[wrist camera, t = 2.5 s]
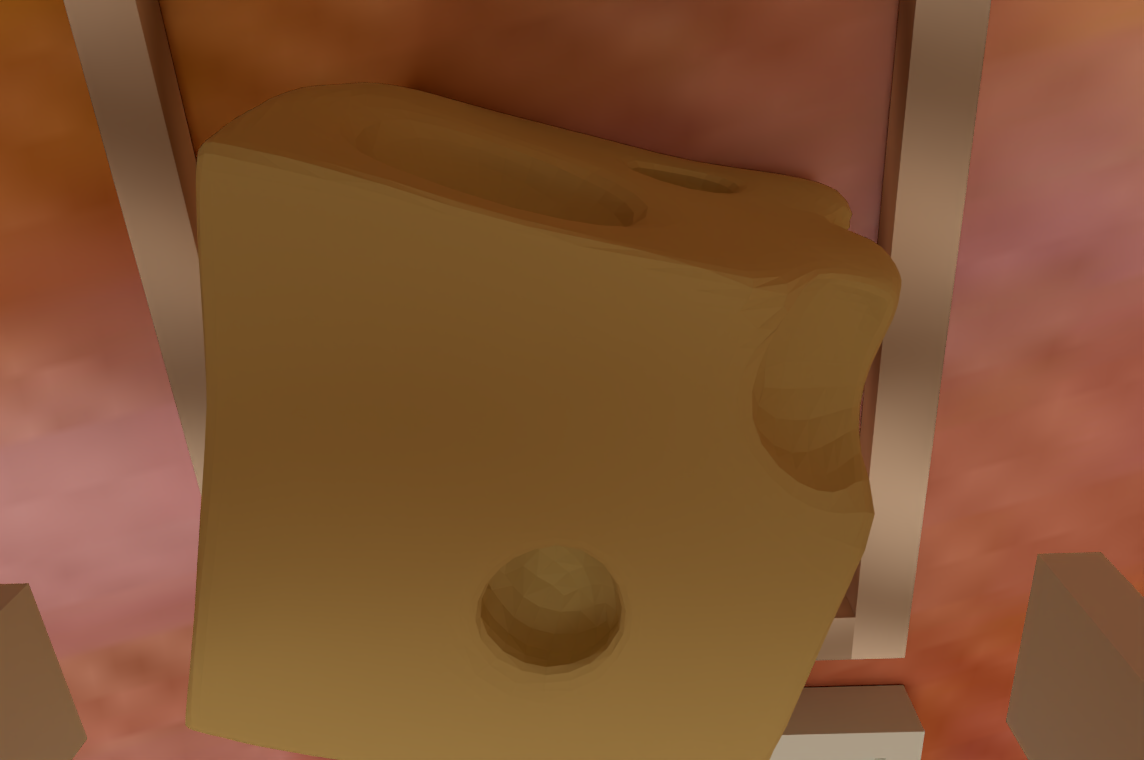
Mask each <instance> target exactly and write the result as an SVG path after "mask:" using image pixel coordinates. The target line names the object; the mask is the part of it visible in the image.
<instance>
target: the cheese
mask: <svg viewBox="0 0 1144 760" xmlns="http://www.w3.org/2000/svg"><path fill="white" fill-rule="evenodd" d="M196 213H197V241H198V257H199V272H200V288H201V303H202V319H203V334H204V352H205V370H206V402H207V408H206V428H205V449H204V466H203V481H202V497H201V513H200V530H199V546H198V562H197V579H196V597H195V613H194V625H193V637H192V650H191V662H190V674H189V684H188V694H187V705H186V726H187V727H188V728H190V729H192V730H194V731H199V732H202V733H206V734H209V735H214V736H219V737H223V738H227V739H231V740H234V741H238V742H243V743H247V744H251V745H256V746H261V747H266V748H272V749H278V750H283V751H289V752H294V753H300V754H305V755H311V756H318V757H324V758H331V759H338V760H770V758H771V755H772V753H773V751H774V749H775V747H776V745H777V743H778V742H779V740H780V738H781V736H782V734H783V732H784V731H785V729H786V727H787V725H788V722H789V720H790V718H791V715H792V713H793V711H794V709H795V706H796V704H797V702H798V699H799V697H800V695H801V692H802V690H803V688H804V686H805V683H806V681H807V679H808V676H809V674H810V672H811V669H812V667H813V665H814V663H815V660H816V658H817V656H818V653H819V651H820V649H821V647H822V644H823V642H824V640H825V638H826V635H827V633H828V631H829V629H830V626H831V624H832V622H833V620H834V618H835V615H836V613H837V611H838V609H839V607H840V605H841V603H842V601H843V598H844V596H845V594H846V592H847V590H848V588H849V586H850V583H851V581H852V578H853V576H854V573H855V571H856V569H857V566H858V564H859V562H860V560H861V558H862V556H863V554H864V552H865V548H866V545H867V541H868V537H869V534H870V530H871V526H872V522H873V519H874V515H875V513H874V506H873V500H872V494H871V487H870V481H869V477H868V474H867V470H866V467H865V463H864V460H863V456H862V452H861V444H860V435H859V417H860V404H861V399H862V394H863V389H864V385H865V382H866V379H867V376H868V373H869V370H870V367H871V364H872V362H873V360H874V358H875V356H876V353H877V351H878V349H879V347H880V345H881V343H882V341H883V339H884V337H885V334H886V332H887V330H888V328H889V326H890V324H891V322H892V320H893V318H894V315H895V312H896V309H897V306H898V302H899V297H900V291H901V282H902V280H901V276H900V273H899V271H898V269H897V267H896V264H895V263H894V261H893V260H892V259H891V257H890V256H889V255H888V254H887V252H886V251H885V250H884V249H883V248H882V247H881V246H879V245H878V244H876V243H875V242H873V241H872V240H870V239H867V238H865V237H863V236H860V235H858V234H856V233H853V232H851V231H849V230H848V229H849V227H850V218H851V216H852V213H851V210H850V208H849V205H848V203H847V201H846V200H845V199H844V198H843V196H842V195H841V194H840V193H839V192H838V191H837V190H835V189H833V188H831V187H829V186H826V185H824V184H821V183H818V182H815V181H811V180H807V179H803V178H797V177H792V176H787V175H782V174H775V173H768V172H762V171H755V170H748V169H741V168H734V167H728V166H721V165H715V164H709V163H703V162H697V161H692V160H687V159H682V158H678V157H673V156H668V155H664V154H659V153H655V152H652V151H648V150H644V149H640V148H636V147H633V146H629V145H625V144H621V143H617V142H614V141H610V140H606V139H602V138H598V137H594V136H590V135H586V134H582V133H578V132H574V131H570V130H566V129H562V128H559V127H555V126H551V125H547V124H543V123H539V122H535V121H531V120H527V119H523V118H519V117H515V116H511V115H508V114H504V113H500V112H496V111H493V110H489V109H485V108H482V107H478V106H474V105H471V104H467V103H464V102H460V101H456V100H453V99H449V98H446V97H442V96H439V95H435V94H431V93H427V92H423V91H420V90H415V89H411V88H405V87H401V86H396V85H389V84H381V83H366V82H364V83H348V84H333V85H320V86H311V87H303V88H299V89H296V90H292V91H289V92H286V93H283V94H281V95H278V96H276V97H273V98H271V99H269V100H267V101H265V102H264V103H262V104H260V105H259V106H257V107H255V108H253V109H251V110H249V111H247V112H245V113H244V114H242V115H240V116H238V117H237V118H235V119H234V120H232V121H231V122H229V123H228V124H227V125H225V126H224V127H223V128H222V129H220V130H219V131H218V132H217V133H215V134H214V135H213V136H211V137H210V138H209V139H207V140H206V141H205V142H204V143H203V145H202V146H201V147H200V149H199V150H198V155H197V165H196Z"/></svg>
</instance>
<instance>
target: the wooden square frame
mask: <svg viewBox="0 0 1144 760" xmlns="http://www.w3.org/2000/svg"><path fill="white" fill-rule="evenodd" d="M63 1H64V4H65V8H66V11H67V15H68V18H69V22H70V26H71V29H72V33H73V36H74V40H75V44H76V47H77V51H78V54H79V58H80V62H81V65H82V69H83V72H84V76H85V80H86V83H87V87H88V90H89V94H90V98H91V101H92V105H93V108H94V112H95V116H96V119H97V123H98V126H99V130H100V134H101V137H102V141H103V144H104V148H105V151H106V155H107V159H108V162H109V166H110V169H111V173H112V177H113V180H114V184H115V187H116V191H117V195H118V198H119V202H120V205H121V209H122V213H123V216H124V220H125V223H126V227H127V231H128V234H129V238H130V241H131V245H132V249H133V252H134V256H135V259H136V263H137V266H138V270H139V274H140V277H141V281H142V284H143V288H144V292H145V295H146V299H147V302H148V306H149V310H150V313H151V317H152V320H153V324H154V328H155V331H156V335H157V338H158V342H159V346H160V349H161V353H162V356H163V360H164V364H165V367H166V371H167V374H168V378H169V382H170V385H171V389H172V392H173V396H174V399H175V403H176V407H177V410H178V414H179V417H180V421H181V425H182V428H183V432H184V435H185V439H186V443H187V446H188V450H189V453H190V457H191V461H192V464H193V468H194V471H195V475H196V479H197V482H198V486H199V489H200V493H201V497H202V481H203V466H204V449H205V428H206V408H207V402H206V370H205V352H204V334H203V319H202V303H201V288H200V272H199V257H198V241H197V213H196V165H197V163H196V159H195V155H194V150H193V146H192V142H191V138H190V133H189V129H188V125H187V121H186V117H185V112H184V108H183V104H182V100H181V95H180V91H179V87H178V83H177V78H176V74H175V70H174V66H173V62H172V57H171V53H170V49H169V45H168V40H167V36H166V32H165V28H164V24H163V19H162V15H161V11H160V7H159V2H158V0H63ZM990 6H991V0H900V4H899V15H898V26H897V37H896V48H895V59H894V69H893V80H892V91H891V102H890V113H889V124H888V135H887V146H886V157H885V168H884V179H883V190H882V201H881V212H880V223H879V234H878V245H879V246H881V247H882V248H883V249H884V250H885V251H886V252H887V254H888V255H889V256H890V257H891V259H892V260H893V261H894V263H895V264H896V267H897V269H898V271H899V273H900V276H901V280H902V282H901V291H900V297H899V302H898V306H897V309H896V312H895V315H894V318H893V320H892V322H891V324H890V326H889V328H888V330H887V332H886V334H885V337H884V339H883V341H882V343H881V345H880V347H879V349H878V351H877V353H876V356H875V358H874V360H873V362H872V364H871V367H870V370H869V373H868V376H867V379H866V382H865V387H864V398H863V409H862V420H861V431H860V444H861V452H862V456H863V460H864V463H865V467H866V470H867V474H868V477H869V481H870V487H871V494H872V500H873V506H874V513H875V515H874V519H873V522H872V526H871V530H870V534H869V537H868V541H867V545H866V548H865V552H864V554H863V556H862V558H861V560H860V562H859V564H858V566H857V569H856V571H855V573H854V576H853V578H852V581H851V583H850V586H849V588H848V590H847V592H846V595H845V596H844V598H843V601H842V603H841V605H840V607H839V609H838V611H837V613H836V615H835V618H834V620H833V622H832V624H831V626H830V629H829V631H828V633H827V635H826V638H825V640H824V642H823V644H822V647H821V649H820V651H819V653H818V656H817V658H816V660H845V659H880V658H905V651H906V643H907V636H908V628H909V621H910V613H911V605H912V598H913V590H914V583H915V575H916V567H917V560H918V552H919V545H920V537H921V529H922V522H923V514H924V507H925V499H926V491H927V484H928V476H929V469H930V461H931V454H932V446H933V438H934V431H935V423H936V416H937V408H938V400H939V393H940V385H941V378H942V370H943V362H944V355H945V347H946V340H947V332H948V324H949V317H950V309H951V302H952V294H953V286H954V279H955V271H956V264H957V256H958V249H959V241H960V233H961V226H962V218H963V211H964V203H965V195H966V188H967V180H968V173H969V165H970V157H971V150H972V142H973V135H974V127H975V119H976V112H977V104H978V97H979V89H980V81H981V74H982V66H983V59H984V51H985V44H986V36H987V28H988V21H989V13H990Z"/></svg>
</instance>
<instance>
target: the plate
mask: <svg viewBox="0 0 1144 760" xmlns="http://www.w3.org/2000/svg"><path fill="white" fill-rule="evenodd" d="M924 733H925V731H924V729H923V727H922V725H921V722H920V720H919V718H918V716H917V714H916V711H915V709H914V707H913V705H912V703H911V701H910V698H909V696H908V694H907V692H906V690H905V687H904V685H886V686H848V687H811V688H803V690H802V692H801V695H800V697H799V699H798V702H797V704H796V706H795V709H794V711H793V713H792V715H791V718H790V720H789V722H788V725H787V727H786V729H785V731H784V732H783V734H782V736H781V738H780V740H779V742H778V743H777V745H776V747H775V749H774V751H773V753H772V755H771V758H770V760H921V753H922V746H923V740H924Z"/></svg>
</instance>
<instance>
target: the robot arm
mask: <svg viewBox="0 0 1144 760" xmlns="http://www.w3.org/2000/svg"><path fill="white" fill-rule="evenodd" d="M1006 722H1007V724H1008V725H1009V727H1010V729H1011V731H1012V732H1013V734H1014V736H1015V737H1016V739H1017V741H1018V743H1019V744H1020V746H1021V748H1022V750H1023V751H1024V753H1025V755H1026V756H1027V758H1028V760H1144V597H1143V596H1142V595H1141V594H1140V593H1139V592H1138V591H1137V590H1136V589H1135V588H1134V587H1133V586H1132V585H1131V583H1130V582H1129V581H1128V580H1127V579H1126V578H1125V577H1124V576H1123V575H1122V574H1121V573H1120V572H1119V571H1118V570H1117V569H1116V568H1115V567H1114V565H1113V564H1112V563H1111V562H1110V561H1109V560H1108V559H1107V558H1106V557H1105V556H1104V555H1103V554H1102V553H1101V552H1087V553H1053V554H1038V556H1037V561H1036V566H1035V571H1034V577H1033V582H1032V587H1031V592H1030V598H1029V603H1028V608H1027V613H1026V619H1025V624H1024V629H1023V634H1022V640H1021V645H1020V650H1019V655H1018V661H1017V666H1016V671H1015V676H1014V682H1013V687H1012V692H1011V697H1010V702H1009V708H1008V713H1007V718H1006ZM86 740H87V736H86V734H85V731H84V728H83V726H82V723H81V720H80V718H79V715H78V713H77V710H76V707H75V705H74V702H73V699H72V697H71V694H70V691H69V689H68V686H67V684H66V681H65V678H64V676H63V673H62V670H61V668H60V665H59V662H58V660H57V657H56V655H55V652H54V649H53V647H52V644H51V641H50V639H49V636H48V633H47V631H46V628H45V626H44V623H43V620H42V618H41V615H40V612H39V610H38V607H37V604H36V602H35V599H34V597H33V594H32V591H31V589H30V586H29V583H25V584H0V760H72V759H73V758H74V756H75V755H76V753H77V752H78V751H79V749H80V748H81V747H82V745H83V744H84V742H85V741H86Z"/></svg>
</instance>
